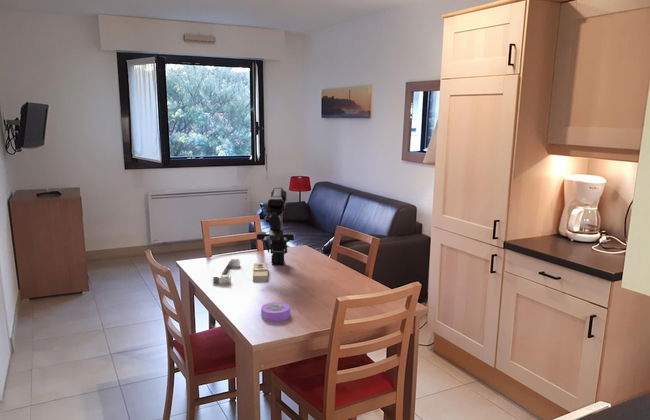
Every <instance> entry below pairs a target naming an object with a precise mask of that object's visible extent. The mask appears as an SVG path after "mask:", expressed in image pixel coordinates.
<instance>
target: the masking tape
mask: <svg viewBox="0 0 650 420" xmlns="http://www.w3.org/2000/svg"><path fill="white" fill-rule="evenodd" d="M260 315H261V319H262V320H263V321H264V320H265V321H268V322H275V323H276V322H283V321H286V320H287V319H289V318H290V316H291V307H290V305H289V304H288V303H287V302H279V301H278V302H277V301H276V302H275V301H273V302H268V303H265V304H263V305H261V308H260Z"/></svg>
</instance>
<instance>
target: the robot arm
mask: <svg viewBox="0 0 650 420" xmlns="http://www.w3.org/2000/svg"><path fill="white" fill-rule="evenodd" d="M287 194H288V193H287V191H286V190H284V188H283V187H278V186H277V187H273V189H272V191H271V192H270V197H269V199H268V200H267V213H268V214H269V217H268V224H269V233H266V231H258V232H257V233H256V240H257V241H261V242H263V243H264V245H265V247H266V250H267V253H269V254H271V264H272V266H273V265H274V266H279V265H280V266H284V265H285V263H286V261H285V255H286V254H287V253H288V243H289V242H290V241H294V240H295V236H296V234H295V232H286V233H284V230H283V213H284V211H285V207H286V203H287V201H288V199H287V198H288V195H287ZM269 240H270V241H271V242H270V241H269ZM269 242H270V243H269Z"/></svg>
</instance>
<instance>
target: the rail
mask: <svg viewBox="0 0 650 420" xmlns="http://www.w3.org/2000/svg"><path fill="white" fill-rule="evenodd" d="M240 266H241V259H240V258H230V259H224V260H223V262H221V264H220V265H219V268H218V269H217V270H216V271H215V273H214V275H213V276H212V281H213V284H217V285H220V286H222V285H223V286H224V285H225V286H230V284H231V283H232V275H230V274H227V272H228V270H229V269H230V268H240Z"/></svg>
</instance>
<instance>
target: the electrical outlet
mask: <svg viewBox="0 0 650 420" xmlns="http://www.w3.org/2000/svg"><path fill="white" fill-rule="evenodd" d="M252 270H253V271H252V282H268V278H269V277H268V272H269V270H268V263H267V262H265V263H264V262H263V263H262V262H261V263H258V262H257V263H255V262H254V263H253V269H252Z"/></svg>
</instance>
